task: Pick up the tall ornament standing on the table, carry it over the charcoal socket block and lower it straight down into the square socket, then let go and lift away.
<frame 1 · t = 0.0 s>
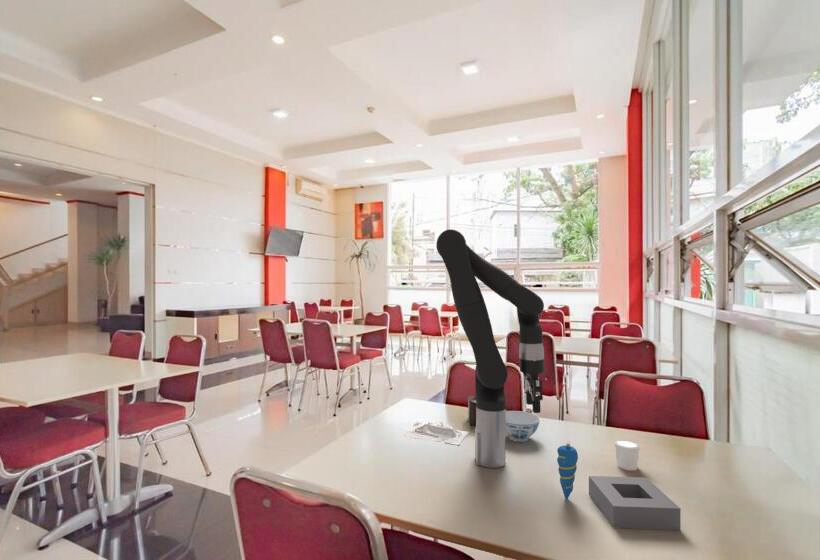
hand: (533, 408, 129), 17 cm above the table, tool pointing down, fingers open, 8 cm apart
pepper mill: (481, 420, 169), on the table
terrain model: (436, 436, 153), on the table
socket block: (631, 511, 102), on the table
chinaware: (518, 438, 150), on the table
ornament: (567, 499, 108), on the table
shot glass: (626, 466, 127), on the table
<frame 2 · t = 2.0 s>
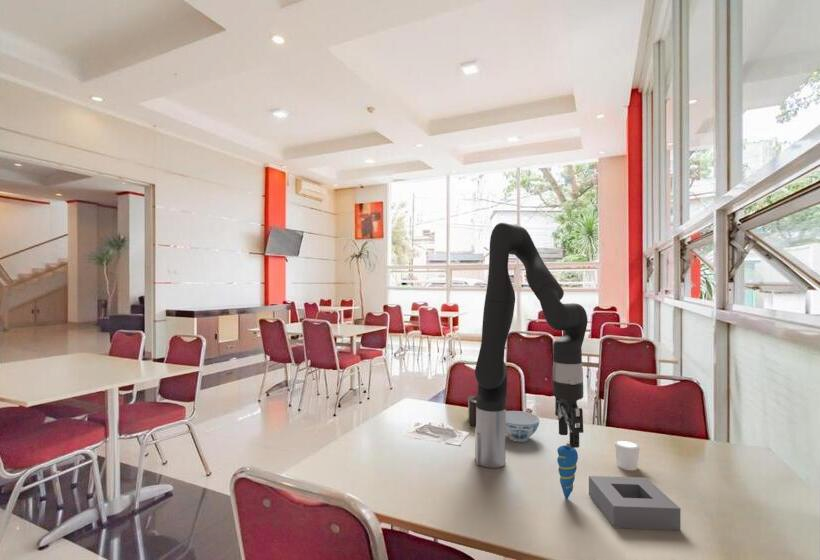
hand: (568, 440, 108), 15 cm above the table, tool pointing down, fingers open, 8 cm apart
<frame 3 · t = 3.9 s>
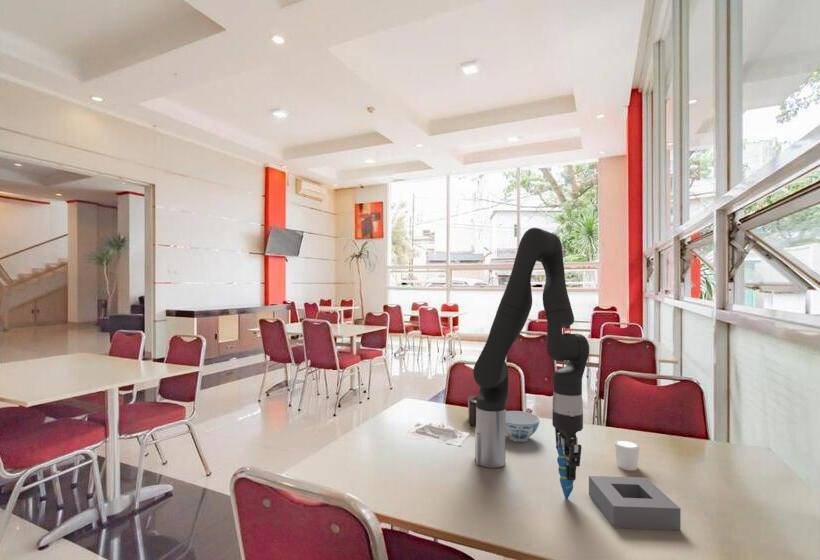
hand: (567, 474, 108), 6 cm above the table, tool pointing down, fingers closed on ornament, 5 cm apart
ornament: (567, 499, 108), on the table, touching gripper
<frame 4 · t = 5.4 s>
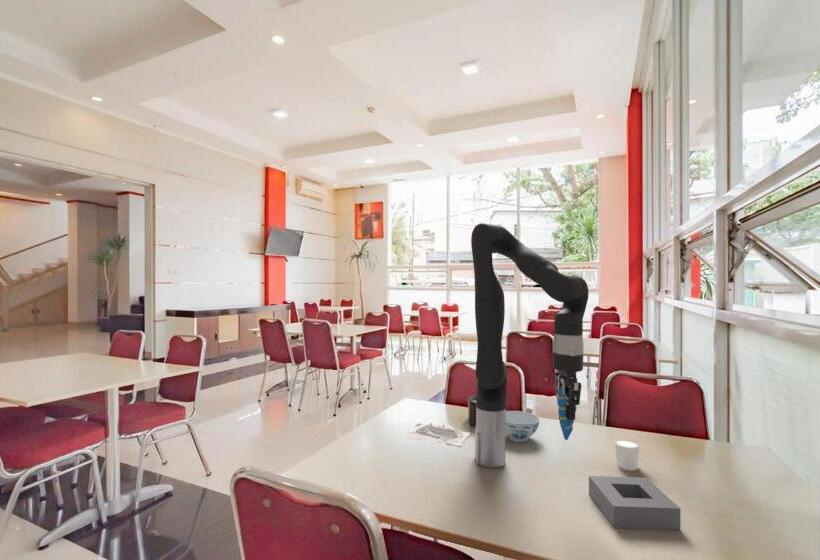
hand: (566, 415, 108), 22 cm above the table, tool pointing down, fingers closed on ornament, 5 cm apart
ornament: (566, 440, 108), point 15 cm above the table, touching gripper
everything else where it was.
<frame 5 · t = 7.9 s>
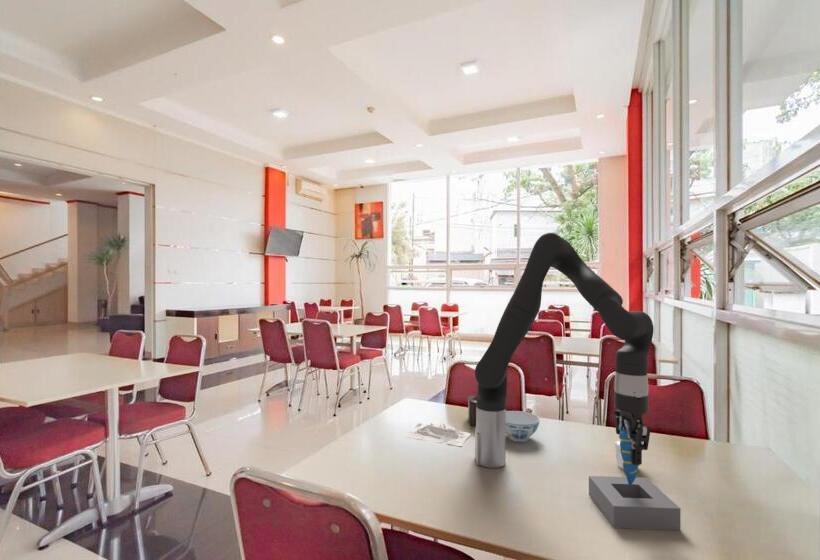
hand: (630, 459, 102), 13 cm above the table, tool pointing down, fingers closed on ornament, 5 cm apart
ornament: (630, 485, 102), point 6 cm above the table, touching gripper
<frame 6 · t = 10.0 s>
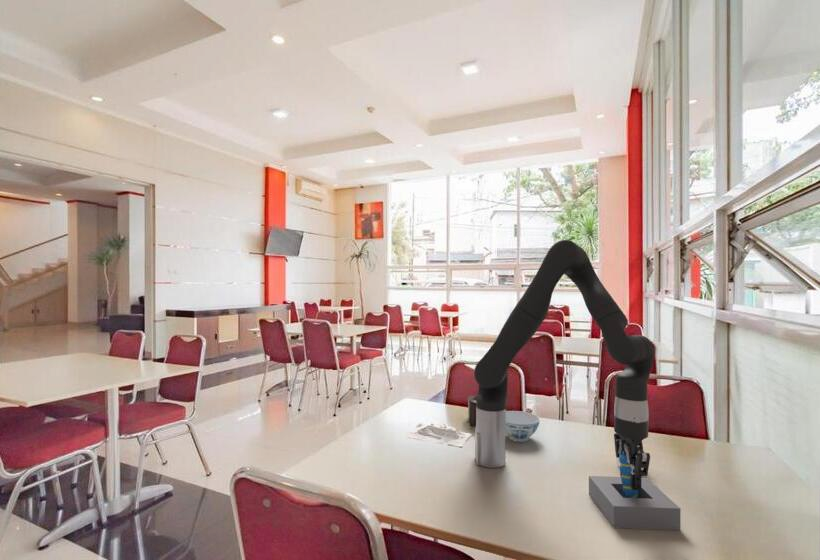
hand: (630, 483, 102), 7 cm above the table, tool pointing down, fingers closed on ornament, 5 cm apart
ornament: (630, 510, 102), resting in socket block, touching gripper
when the fingers open (7 cm above the table, at t = 10.3 s): ornament stays where it is, resting in socket block.
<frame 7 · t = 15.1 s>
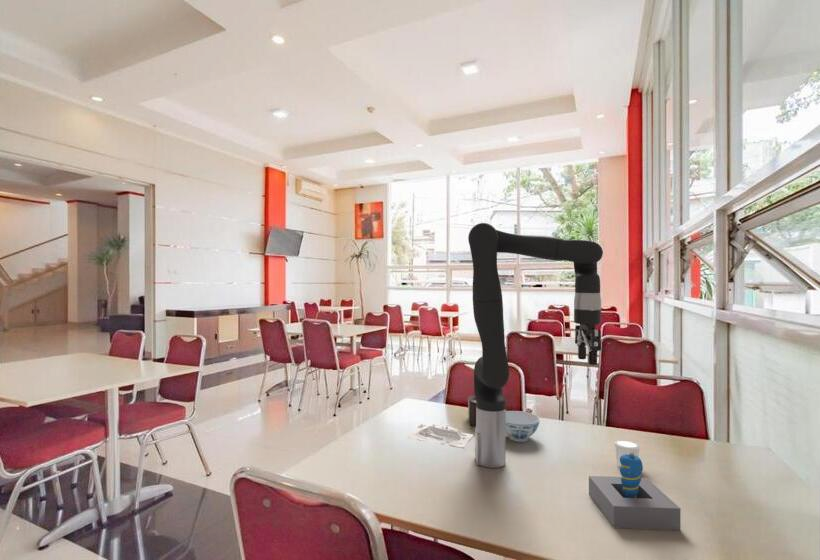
hand: (587, 361, 123), 33 cm above the table, tool pointing down, fingers open, 8 cm apart
ornament: (630, 510, 102), resting in socket block
at the end: ornament 0.5 cm off-centre on the socket block, point 0.0 cm above the socket block's base; ornament tilted 1°; the gripper is holding nothing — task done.
